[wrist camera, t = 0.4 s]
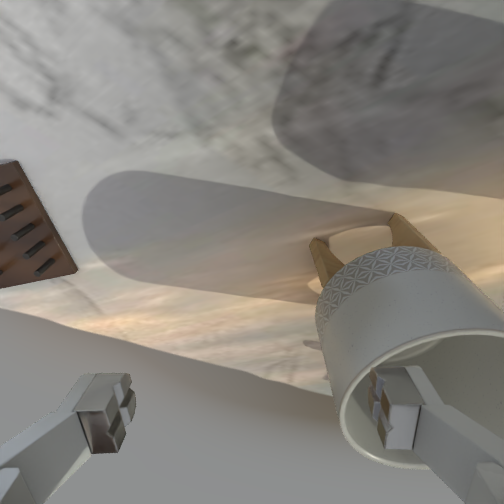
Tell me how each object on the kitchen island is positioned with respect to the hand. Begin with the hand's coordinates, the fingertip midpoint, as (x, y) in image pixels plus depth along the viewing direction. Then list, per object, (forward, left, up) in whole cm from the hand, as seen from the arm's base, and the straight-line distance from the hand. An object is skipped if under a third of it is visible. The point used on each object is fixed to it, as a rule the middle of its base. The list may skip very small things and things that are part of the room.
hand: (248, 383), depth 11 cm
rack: (+3, -39, -38) cm, 54 cm away
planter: (+21, +13, -38) cm, 45 cm away
